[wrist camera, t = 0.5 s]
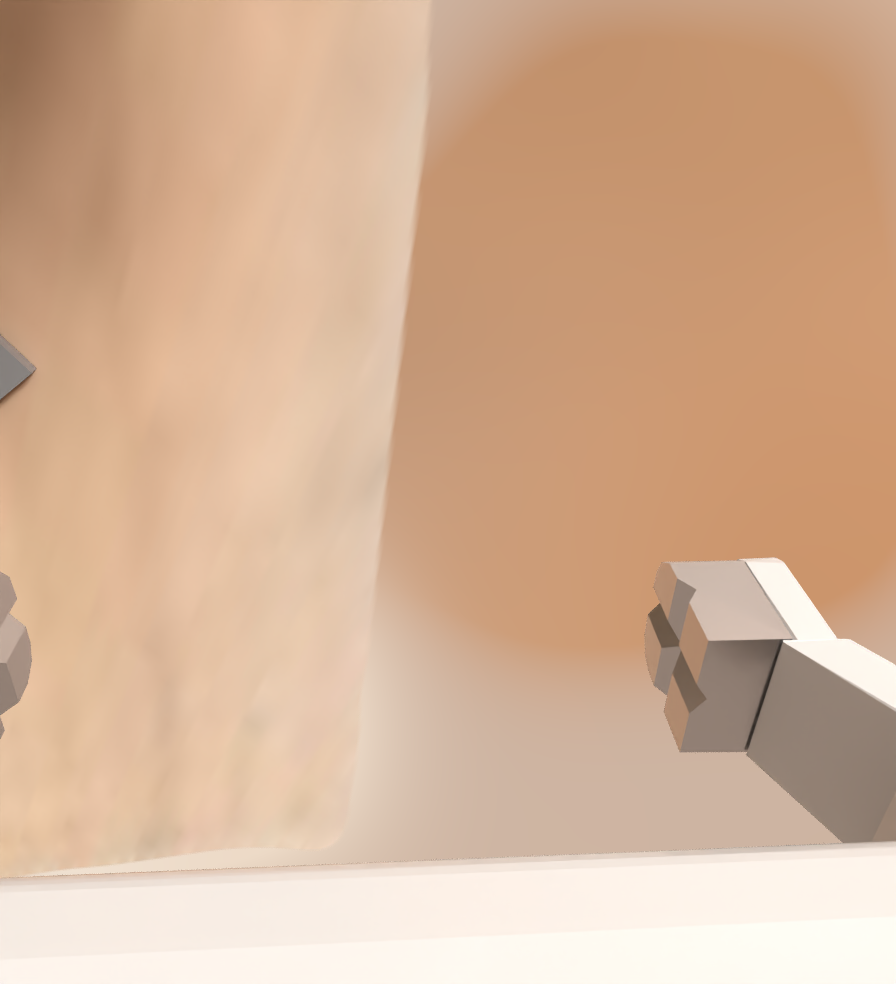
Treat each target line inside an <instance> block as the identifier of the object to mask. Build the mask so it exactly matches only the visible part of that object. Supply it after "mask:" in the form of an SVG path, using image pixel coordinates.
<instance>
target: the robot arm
mask: <svg viewBox="0 0 896 984" xmlns="http://www.w3.org/2000/svg"><path fill="white" fill-rule="evenodd" d="M654 590H655V592H656V594H657V596H658V599H659V601H660V603H659V605H657V607H655V608H654V609H653V610H652V611H651V612H650V613H649V614H648V618H647V624H646V630H645V657H646V661H647V666H648V671H649V673H650V676H651V679H652V682H653V685H654V686H655V687H657V688H658V689H659V690H661V691H662V692H663V693H665V694H666V695H667V699H666V704H665V708H664V713H665V716H666V719H667V721H668V724H669V726H670V729H671V731H672V734H673V736H674V739H675V741H676V744H677V746H678V749H679V751H680V752H747V756H748V757H749V758H750V759H751V760H753V761H754V762H755V763H756V764H757V765H758V766H759V767H760V768H761V769H762V770H763V771H765V772H766V773H767V774H768V775H769V776H770V777H771V778H772V779H773V780H774V781H776V782H777V783H778V784H779V785H780V786H781V787H782V788H783V789H784V790H786V791H787V792H788V793H789V794H790V795H791V796H792V797H793V798H794V799H795V800H796V801H798V802H799V803H800V804H801V805H802V806H803V807H804V808H805V809H806V810H807V811H809V812H810V813H811V814H812V815H813V816H814V817H815V818H816V819H817V820H818V821H820V822H821V823H822V824H823V825H824V826H825V827H826V828H827V829H828V830H830V831H831V832H832V833H833V834H834V835H835V836H836V837H837V838H838V839H839V840H840V841H842V842H843V843H834V844H809V845H786V846H762V847H739V848H717V849H692V850H669V851H645V852H621V853H595V854H569V855H544V856H519V857H494V858H469V859H443V860H418V861H394V862H370V863H347V864H322V865H298V866H274V867H252V868H251V867H250V868H228V869H227V868H226V869H202V870H181V871H180V870H178V871H156V872H130V873H106V874H84V875H58V876H33V877H9V878H0V984H896V665H894V664H892V663H891V662H889V661H887V660H886V659H884V658H882V657H880V656H879V655H877V654H875V653H873V652H871V651H870V650H868V649H866V648H864V647H862V646H861V645H859V644H857V643H855V642H854V641H852V640H850V639H837V637H836V636H835V635H834V633H833V632H832V630H831V629H830V628H829V626H828V625H827V623H826V622H825V620H824V619H823V618H822V616H821V615H820V613H819V612H818V611H817V609H816V608H815V606H814V605H813V603H812V602H811V600H810V599H809V598H808V596H807V595H806V593H805V592H804V591H803V589H802V588H801V586H800V585H799V583H798V582H797V580H796V579H795V578H794V576H793V575H792V573H791V572H790V571H789V569H788V568H787V566H786V565H785V563H784V562H782V561H781V560H779V559H777V558H757V559H738V560H737V561H694V562H662V563H661V565H660V567H659V569H658V571H657V574H656V578H655V583H654ZM16 600H17V597H16V594H15V592H14V589H13V586H12V583H11V580H10V578H9V577H8V576H7V575H5V574H3V573H1V572H0V715H1V714H3V713H4V712H5V711H7V710H8V709H10V708H11V707H13V706H14V705H15V704H17V703H18V702H19V701H20V699H21V697H22V694H23V692H24V690H25V688H26V686H27V684H28V678H29V673H30V667H31V662H32V658H31V645H30V640H29V636H28V633H27V629H26V627H25V626H24V625H23V624H22V623H20V622H19V621H18V620H17V619H15V618H14V617H13V616H12V615H10V614H9V612H10V610H11V608H12V606H13V605H14V603H15V601H16ZM4 731H5V730H4V727H3V724H2V721H1V718H0V738H1V736H2V734H3V732H4Z"/></svg>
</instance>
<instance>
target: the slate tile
mask: <svg viewBox="0 0 896 984" xmlns="http://www.w3.org/2000/svg"><path fill="white" fill-rule="evenodd" d="M35 369H36V368H35V367H34V366H33V365H32V364H31V363H30V362H29V361H28V360H27V359H26V358H25V357H24V356H23V355H22V354H21V353H19V352H18V351H17V350H16V349H15V348H14V347H13V346H12V345H11V344H10V343H9V342H8V341H7V340H6V339H5V338H3V337H2V336H1V335H0V399H2V398H3V397H4V396H5V395H6V394H8V393H9V392H10V391H11V390H12V389H14V388H15V387H16V386H17V385H18V384H20V383H21V382H22V381H23V380H24V379H26V378H27V377H28V376H29V375H30V374H32V373H33V371H34V370H35Z"/></svg>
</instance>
